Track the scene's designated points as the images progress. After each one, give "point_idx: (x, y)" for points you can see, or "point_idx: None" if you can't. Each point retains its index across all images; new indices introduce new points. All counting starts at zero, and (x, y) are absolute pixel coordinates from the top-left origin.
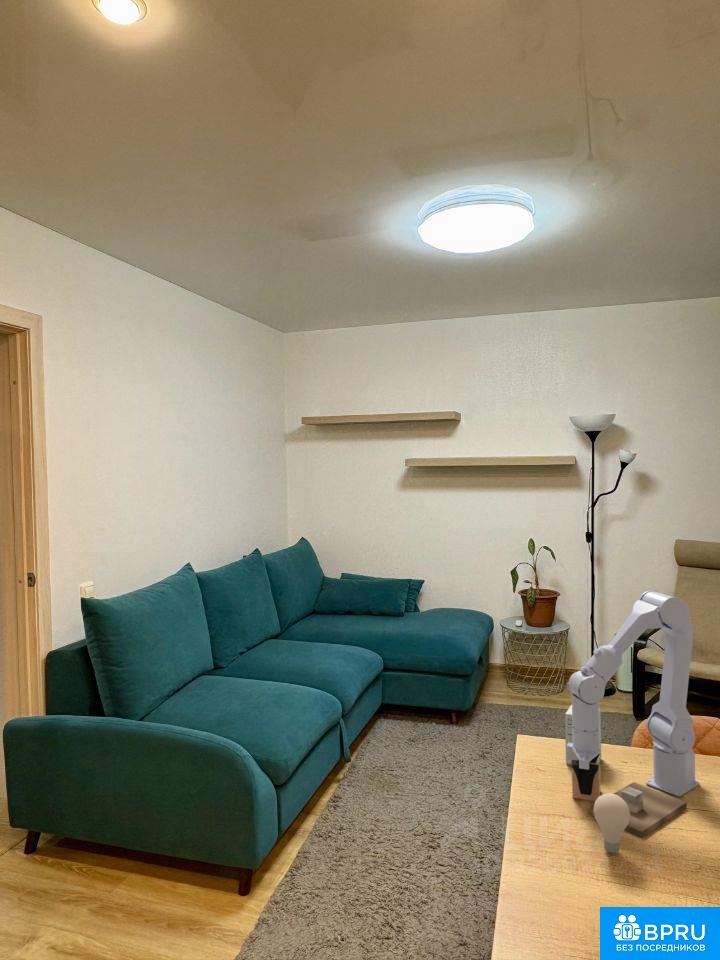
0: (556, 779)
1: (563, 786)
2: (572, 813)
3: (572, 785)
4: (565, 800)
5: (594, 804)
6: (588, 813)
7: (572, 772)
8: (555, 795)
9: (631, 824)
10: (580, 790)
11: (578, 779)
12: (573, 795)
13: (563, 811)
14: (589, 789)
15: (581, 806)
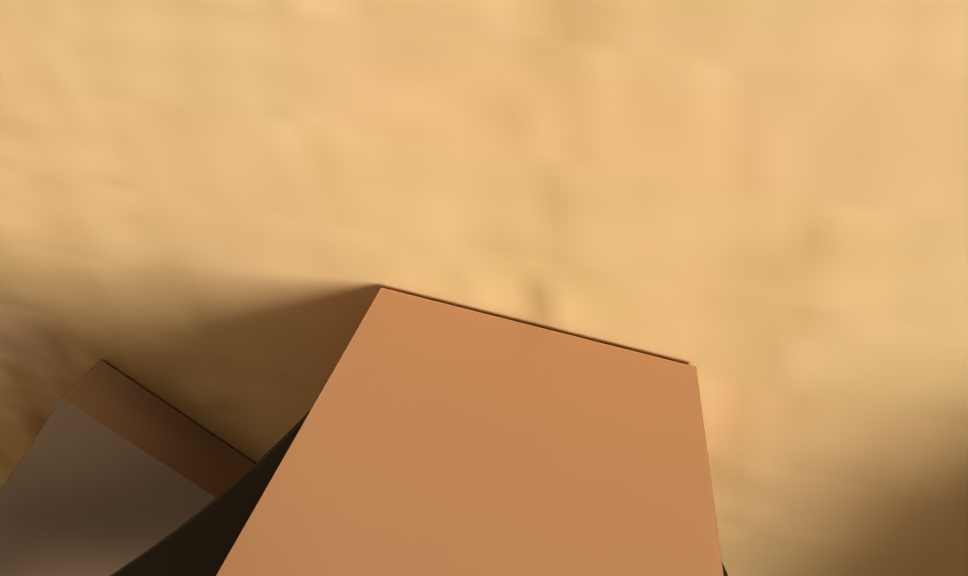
0: (963, 171)
1: (702, 235)
2: (31, 218)
3: (326, 388)
4: (300, 194)
5: (161, 463)
6: (98, 362)
7: (224, 564)
8: (405, 81)
9: None
10: (290, 435)
11: (160, 549)
12: (374, 312)
13: (22, 127)
14: None
15: (221, 332)
